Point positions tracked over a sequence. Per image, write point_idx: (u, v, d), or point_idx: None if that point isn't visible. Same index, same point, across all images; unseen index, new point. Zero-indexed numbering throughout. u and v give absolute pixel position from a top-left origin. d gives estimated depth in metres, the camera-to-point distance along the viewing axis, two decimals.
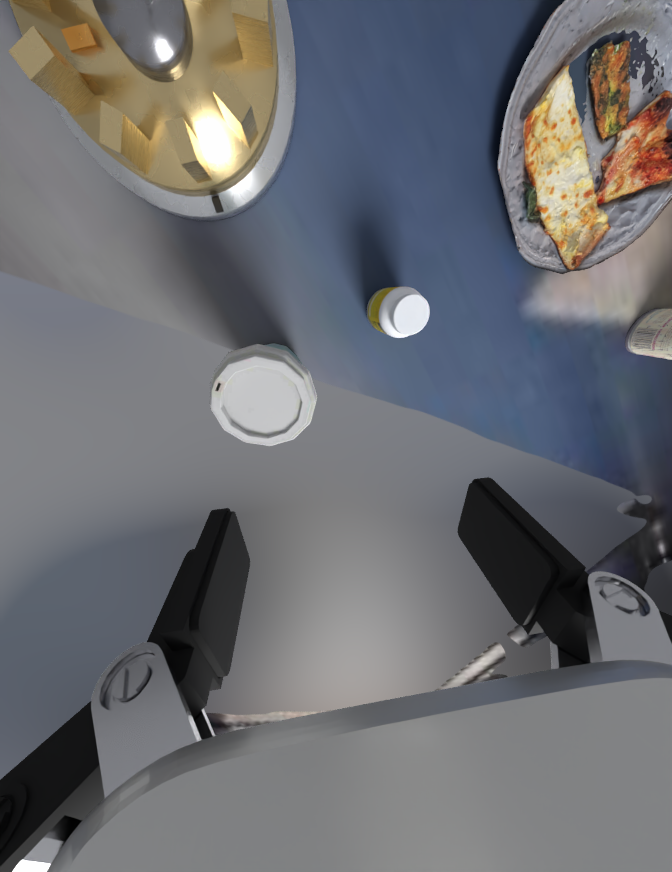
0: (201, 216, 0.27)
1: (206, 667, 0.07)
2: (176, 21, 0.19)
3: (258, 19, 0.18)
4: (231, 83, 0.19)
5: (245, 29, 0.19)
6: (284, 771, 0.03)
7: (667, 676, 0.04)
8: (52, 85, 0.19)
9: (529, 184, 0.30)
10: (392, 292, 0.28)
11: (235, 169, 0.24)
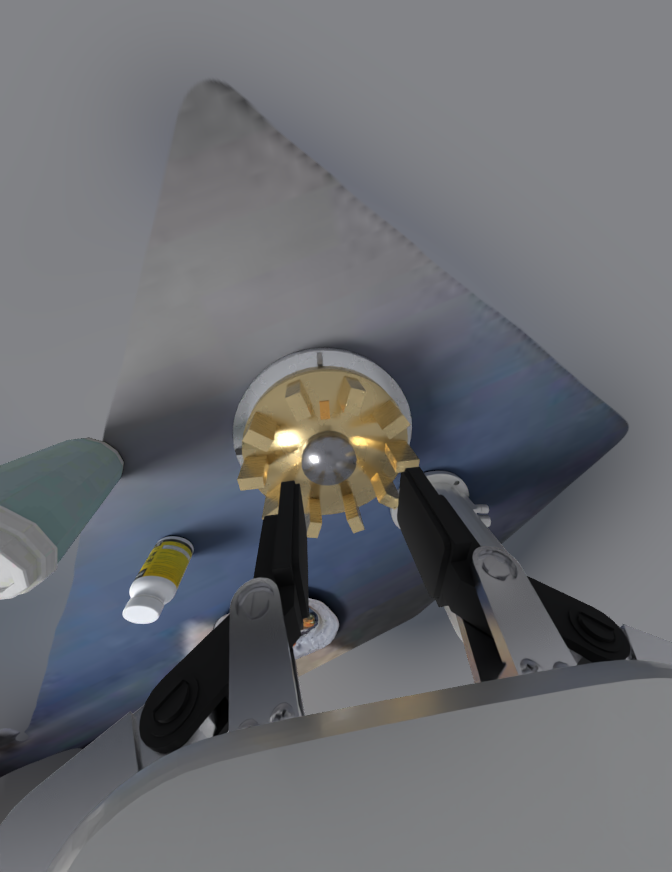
0: (233, 435, 0.30)
1: (298, 605, 0.08)
2: (318, 481, 0.29)
3: (307, 532, 0.30)
4: None
5: (308, 518, 0.30)
6: (284, 770, 0.03)
7: (667, 676, 0.04)
8: None
9: None
10: (168, 586, 0.33)
11: None
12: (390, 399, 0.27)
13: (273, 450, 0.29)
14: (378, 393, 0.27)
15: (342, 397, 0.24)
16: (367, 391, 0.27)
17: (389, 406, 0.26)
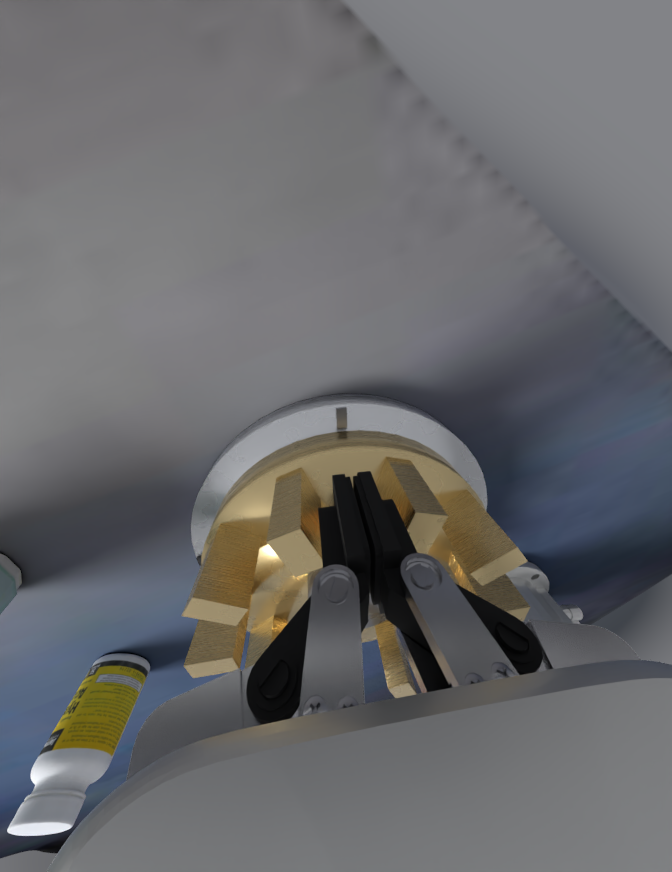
0: None
1: None
2: None
3: None
4: None
5: None
6: (284, 770, 0.03)
7: (667, 676, 0.04)
8: None
9: None
10: (93, 763, 0.21)
11: None
12: (467, 489, 0.15)
13: (258, 575, 0.16)
14: (446, 481, 0.14)
15: None
16: (427, 479, 0.14)
17: (470, 507, 0.14)
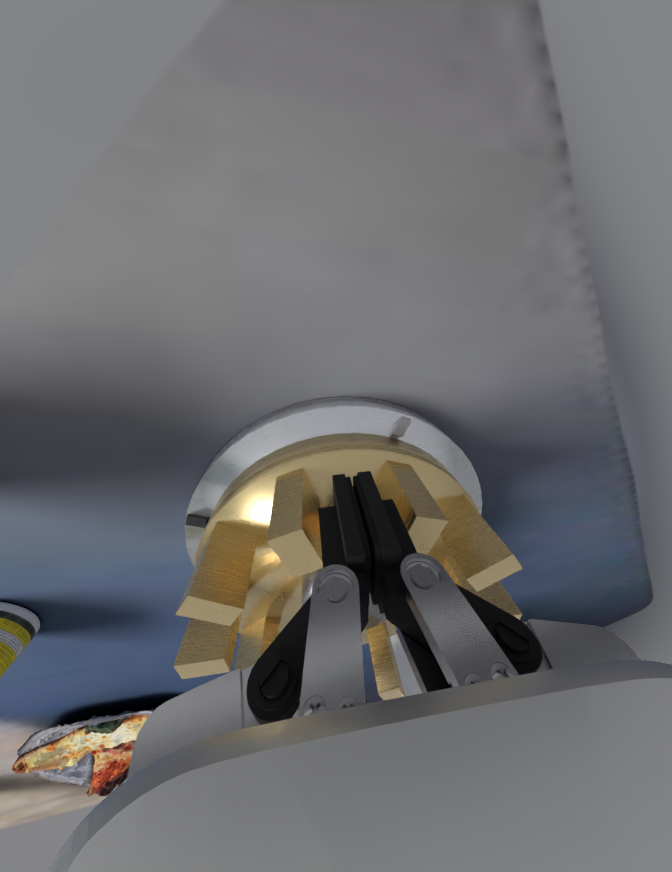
0: None
1: None
2: None
3: None
4: None
5: None
6: (284, 771, 0.03)
7: (667, 676, 0.04)
8: None
9: (119, 725, 0.30)
10: None
11: None
12: (465, 495, 0.15)
13: (252, 575, 0.16)
14: (445, 486, 0.15)
15: None
16: (426, 484, 0.14)
17: (467, 513, 0.14)
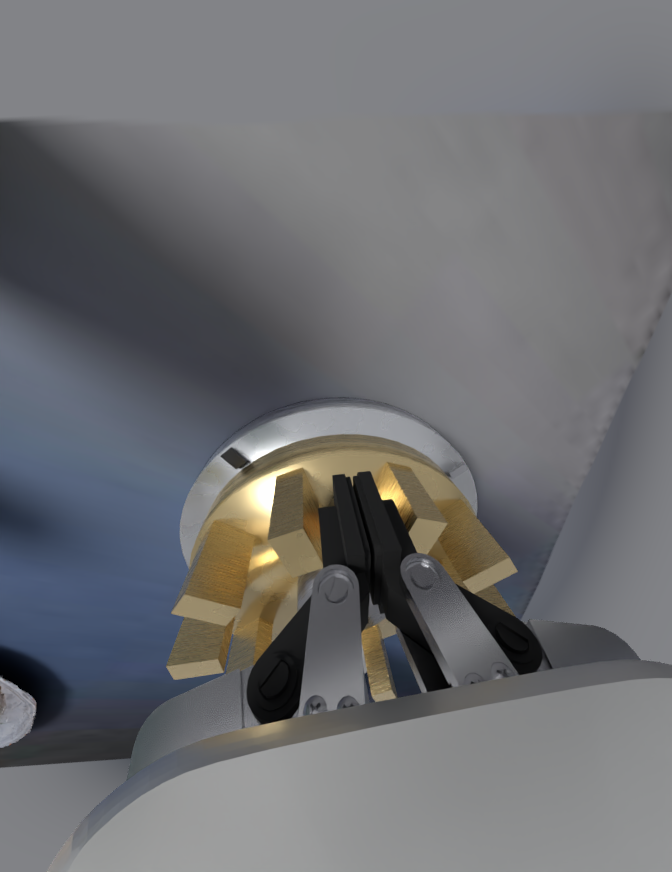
0: (255, 429, 0.15)
1: None
2: None
3: None
4: None
5: None
6: (284, 771, 0.03)
7: (667, 676, 0.04)
8: None
9: None
10: None
11: None
12: (462, 498, 0.15)
13: (247, 575, 0.16)
14: (442, 489, 0.15)
15: None
16: (424, 486, 0.14)
17: (464, 517, 0.14)
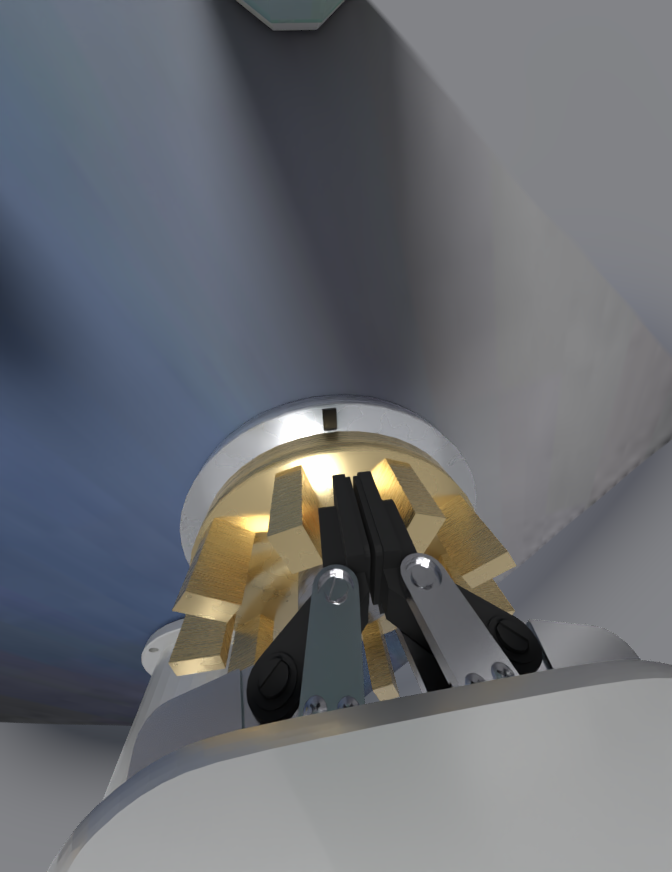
0: (364, 405, 0.15)
1: None
2: None
3: None
4: None
5: None
6: (284, 771, 0.03)
7: (667, 676, 0.04)
8: None
9: None
10: None
11: None
12: (460, 494, 0.15)
13: (248, 572, 0.16)
14: (441, 485, 0.15)
15: None
16: (423, 482, 0.15)
17: (463, 512, 0.14)
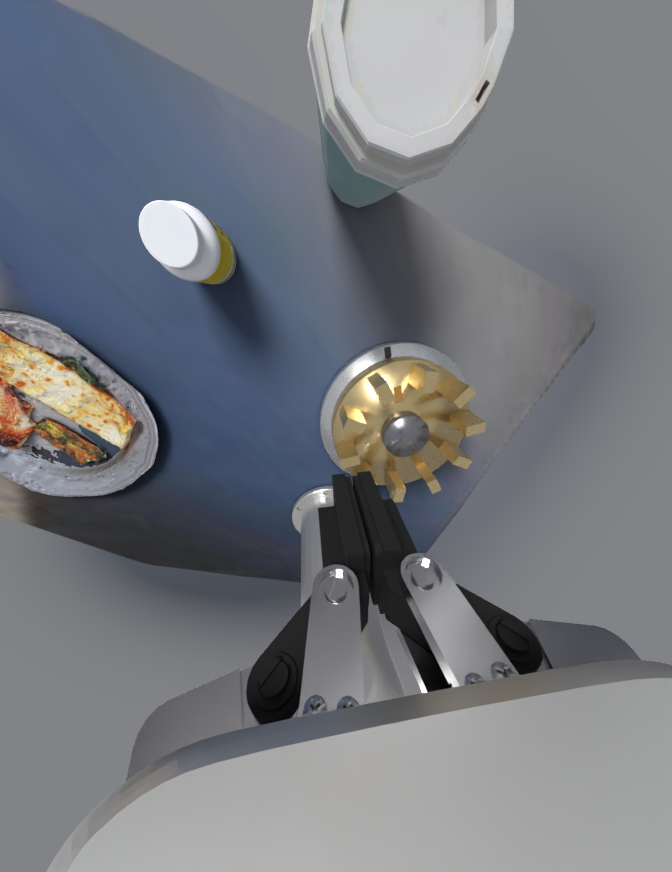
0: (402, 343, 0.32)
1: None
2: (398, 454, 0.34)
3: (394, 497, 0.36)
4: None
5: (393, 487, 0.36)
6: (284, 769, 0.03)
7: (667, 676, 0.04)
8: (375, 390, 0.29)
9: (97, 385, 0.31)
10: (208, 273, 0.22)
11: None
12: (452, 375, 0.32)
13: (357, 434, 0.35)
14: (441, 372, 0.32)
15: (415, 380, 0.30)
16: None
17: (453, 381, 0.31)
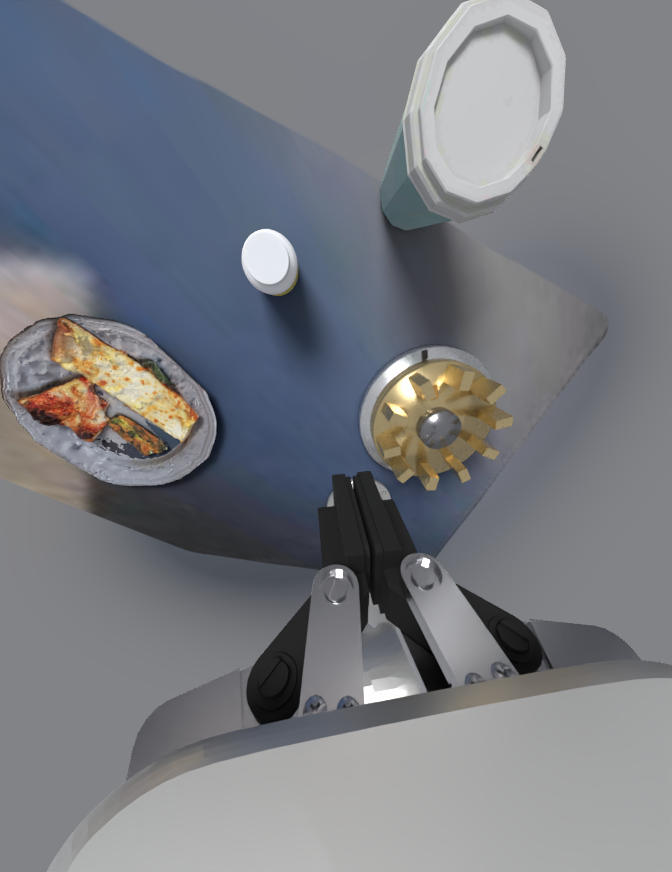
0: (437, 346, 0.36)
1: None
2: (432, 446, 0.38)
3: (428, 486, 0.39)
4: (410, 476, 0.38)
5: (426, 476, 0.40)
6: (284, 769, 0.03)
7: (667, 676, 0.04)
8: (417, 388, 0.33)
9: (169, 384, 0.35)
10: (287, 287, 0.26)
11: (381, 456, 0.41)
12: (482, 375, 0.36)
13: (395, 428, 0.38)
14: None
15: (452, 379, 0.34)
16: None
17: (484, 380, 0.35)
